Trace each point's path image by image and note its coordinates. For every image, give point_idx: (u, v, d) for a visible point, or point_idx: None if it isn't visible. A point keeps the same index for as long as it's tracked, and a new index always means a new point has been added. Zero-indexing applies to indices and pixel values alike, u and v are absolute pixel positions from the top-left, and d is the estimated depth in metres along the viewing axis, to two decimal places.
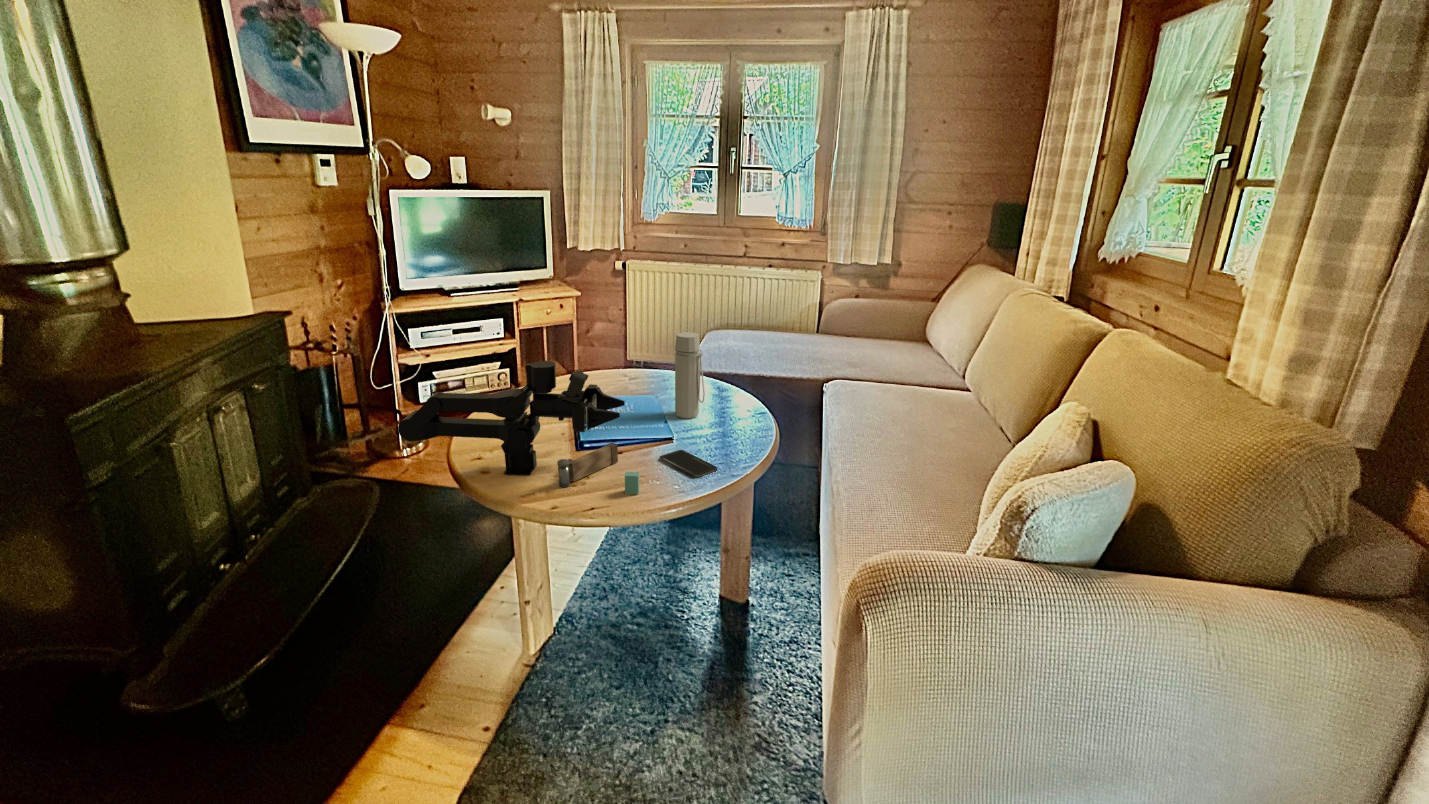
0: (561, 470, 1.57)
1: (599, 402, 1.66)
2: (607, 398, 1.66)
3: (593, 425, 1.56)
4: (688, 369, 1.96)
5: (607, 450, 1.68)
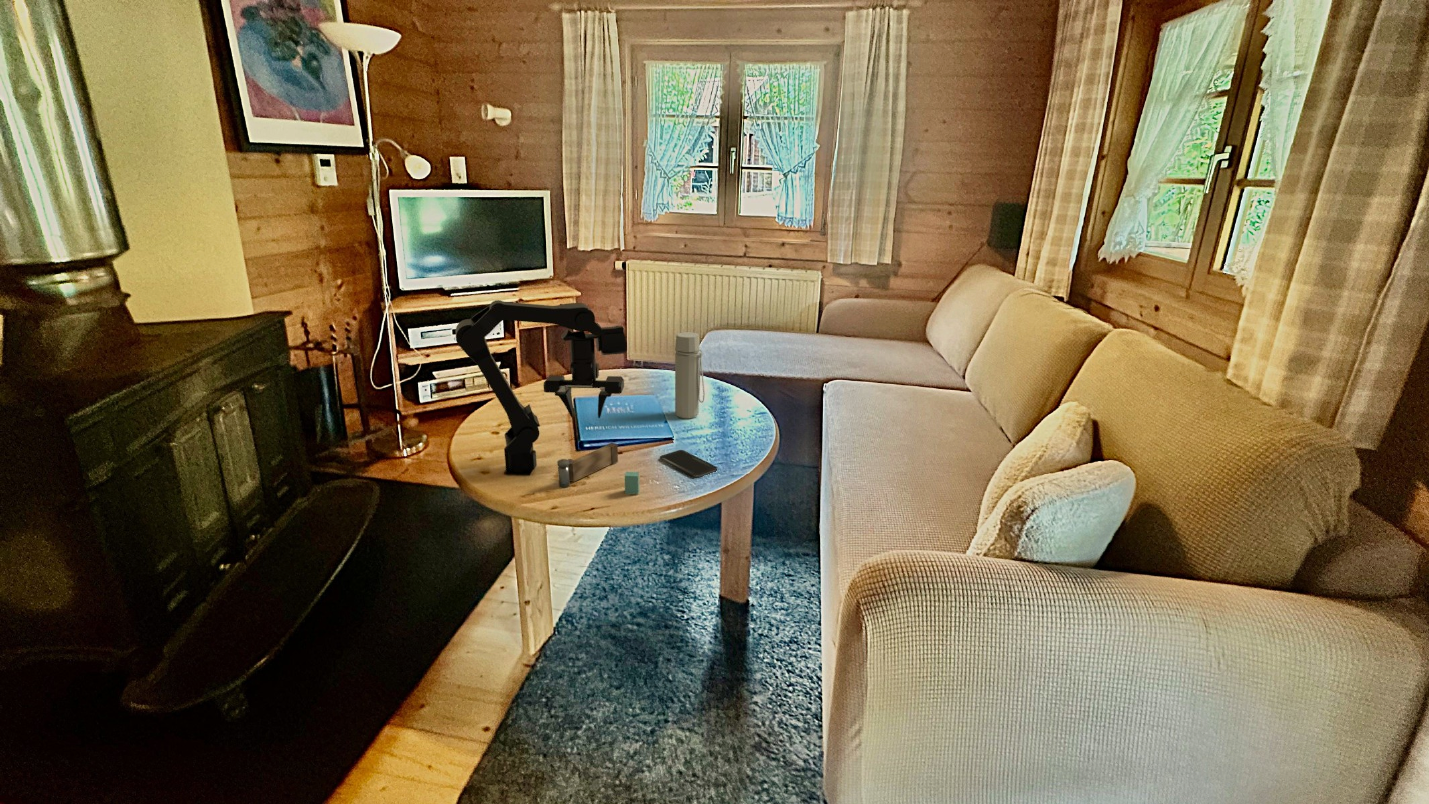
0: (561, 470, 1.57)
1: (569, 393, 1.66)
2: (571, 399, 1.68)
3: None
4: (688, 369, 1.96)
5: (607, 450, 1.68)
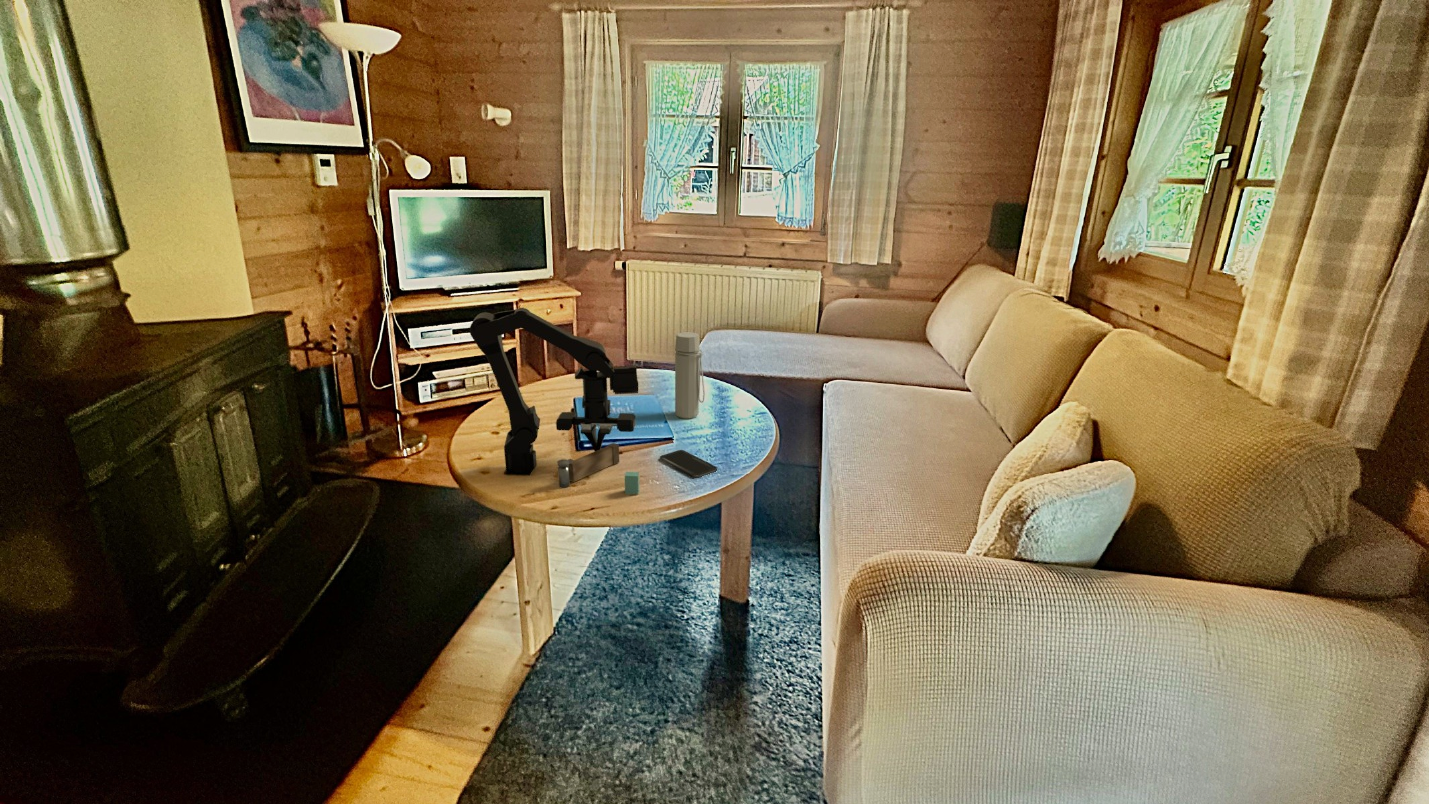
0: (561, 470, 1.57)
1: (594, 431, 1.67)
2: (596, 436, 1.69)
3: None
4: (688, 369, 1.96)
5: (608, 450, 1.68)
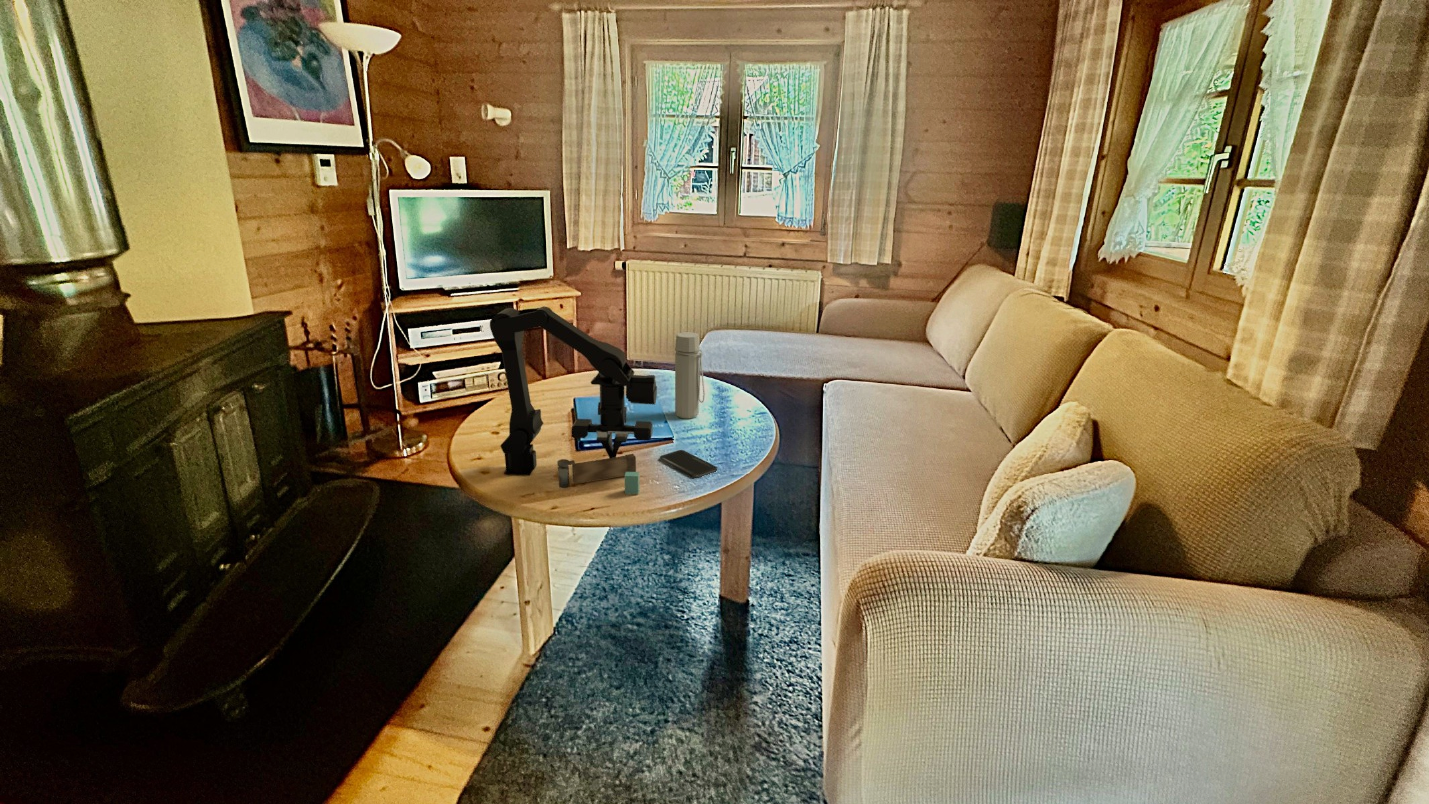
0: (561, 470, 1.57)
1: (610, 438, 1.62)
2: (612, 444, 1.64)
3: None
4: (688, 369, 1.96)
5: (622, 460, 1.62)
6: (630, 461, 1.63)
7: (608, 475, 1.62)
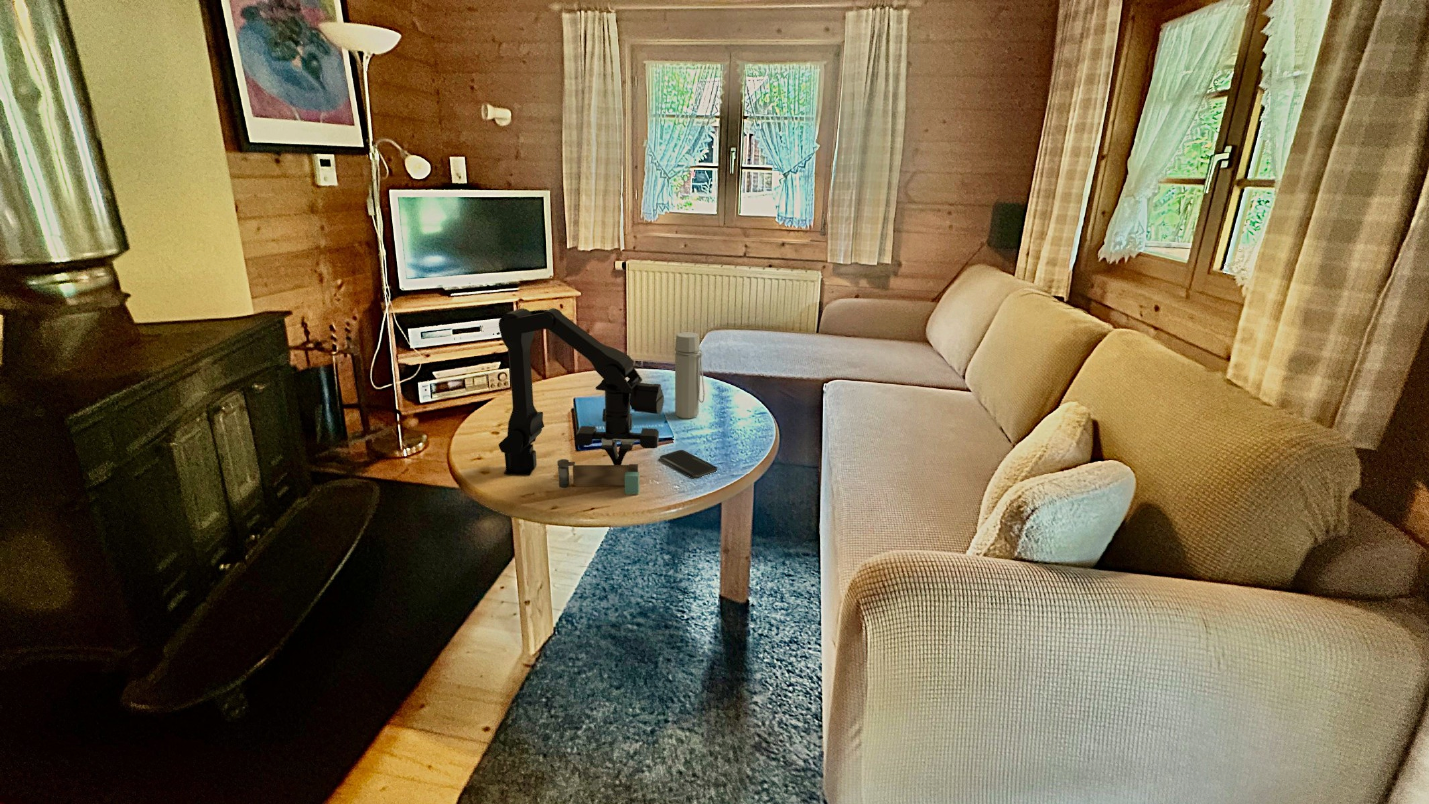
0: (561, 470, 1.57)
1: (615, 446, 1.58)
2: (617, 452, 1.60)
3: None
4: (688, 369, 1.96)
5: (623, 469, 1.58)
6: (631, 471, 1.58)
7: (608, 482, 1.59)
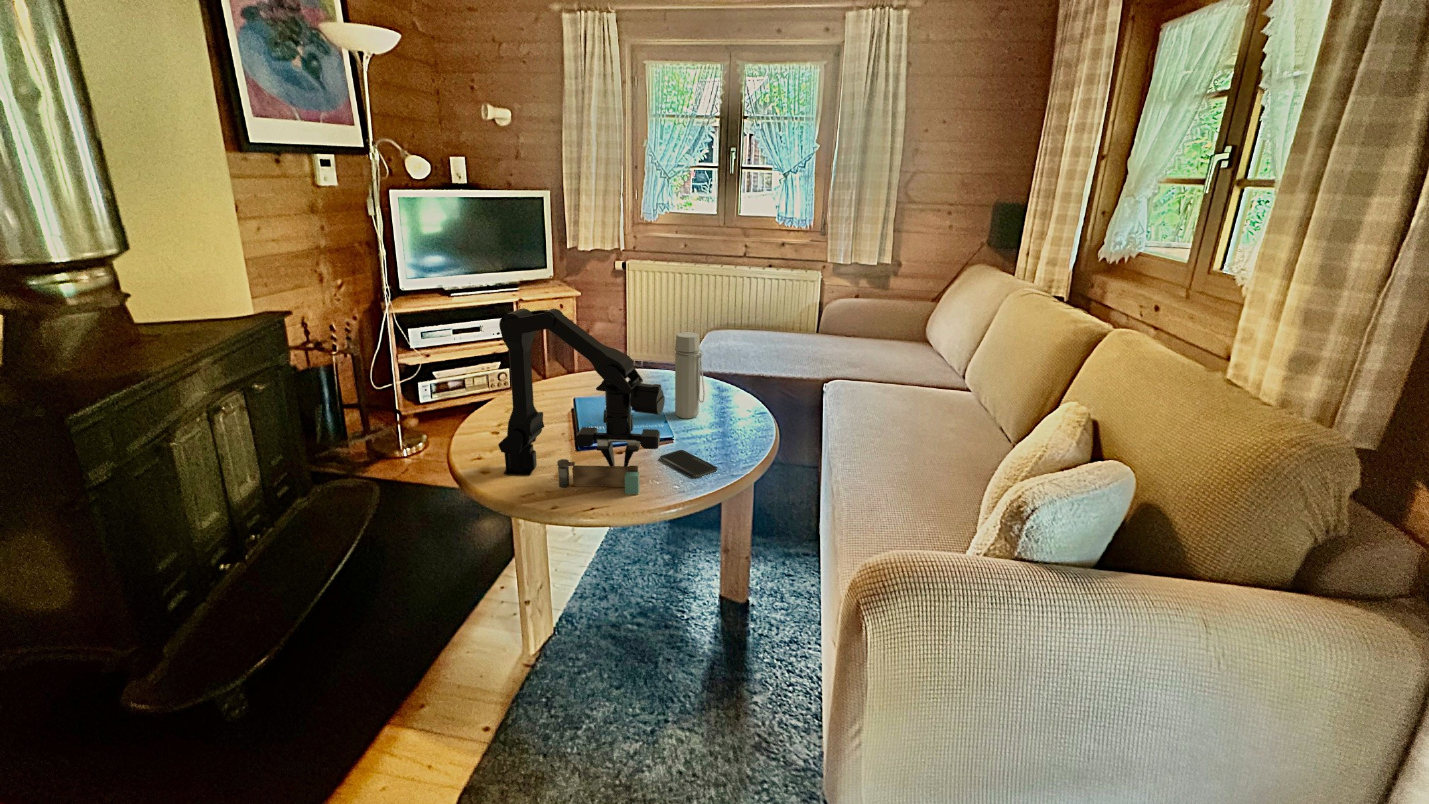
0: (561, 470, 1.57)
1: (611, 447, 1.58)
2: None
3: None
4: (688, 369, 1.96)
5: (622, 470, 1.57)
6: None
7: (608, 483, 1.58)
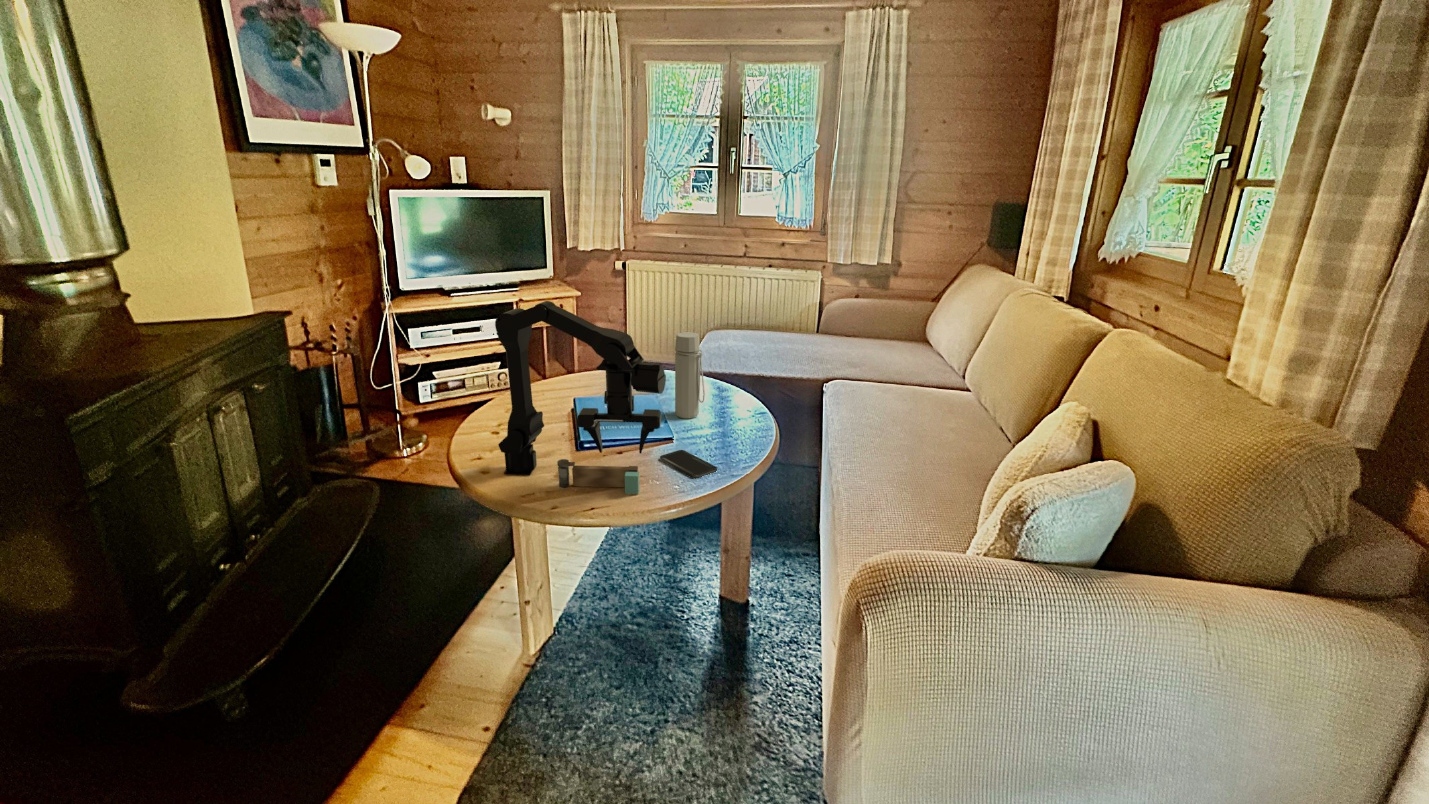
0: (561, 470, 1.57)
1: (598, 427, 1.56)
2: (600, 433, 1.58)
3: None
4: (688, 369, 1.96)
5: (622, 470, 1.57)
6: None
7: (608, 483, 1.58)
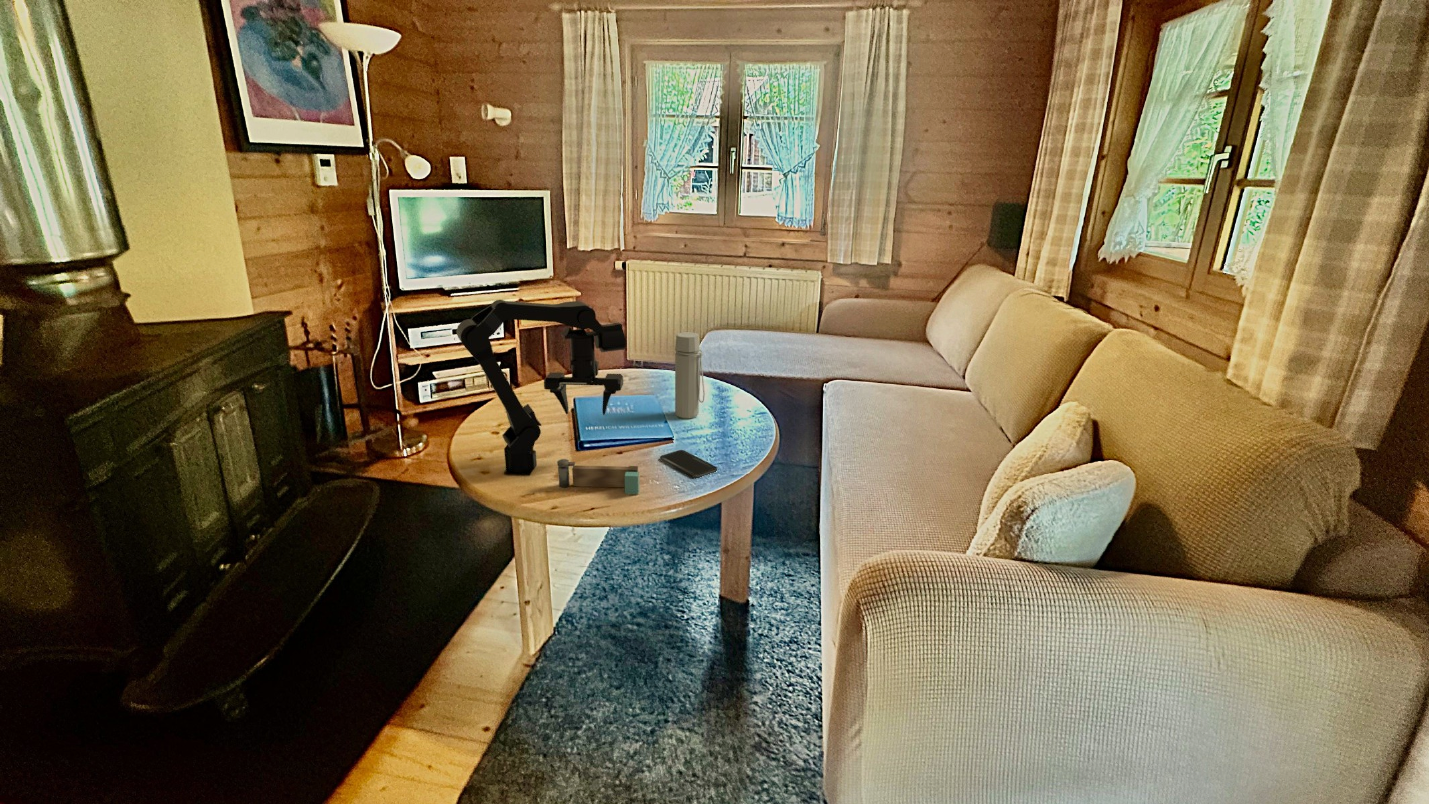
0: (561, 470, 1.57)
1: (563, 390, 1.68)
2: (566, 396, 1.70)
3: None
4: (688, 369, 1.96)
5: (622, 470, 1.57)
6: None
7: (608, 483, 1.58)
